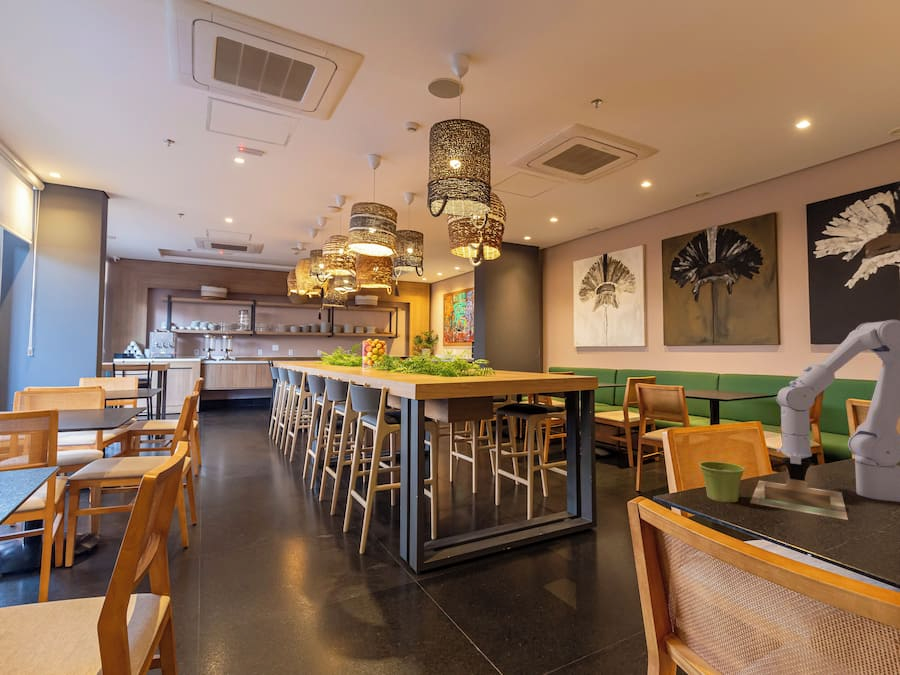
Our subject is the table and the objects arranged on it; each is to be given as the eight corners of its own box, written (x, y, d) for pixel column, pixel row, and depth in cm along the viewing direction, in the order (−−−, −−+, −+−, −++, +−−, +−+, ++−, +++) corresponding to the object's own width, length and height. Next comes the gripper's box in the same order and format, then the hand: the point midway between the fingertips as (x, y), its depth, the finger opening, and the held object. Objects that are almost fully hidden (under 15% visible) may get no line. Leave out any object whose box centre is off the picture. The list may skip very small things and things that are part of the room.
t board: (841, 496, 110) (841, 492, 110) (848, 524, 91) (847, 519, 91) (759, 484, 121) (759, 480, 121) (750, 507, 102) (749, 502, 102)
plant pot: (753, 510, 100) (752, 471, 100) (708, 507, 102) (707, 469, 102) (735, 497, 109) (734, 462, 110) (694, 495, 111) (693, 460, 112)
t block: (829, 496, 106) (828, 484, 107) (830, 509, 97) (830, 496, 97) (768, 487, 114) (768, 475, 114) (764, 498, 105) (764, 486, 105)
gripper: (777, 428, 120) (779, 478, 119) (774, 435, 109) (776, 491, 108) (811, 431, 116) (813, 483, 115) (811, 439, 104) (813, 496, 104)
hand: (797, 487), depth 111 cm, fingers closed
